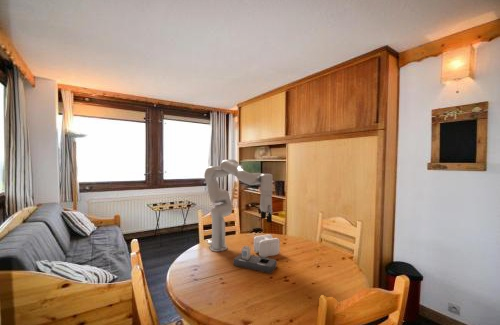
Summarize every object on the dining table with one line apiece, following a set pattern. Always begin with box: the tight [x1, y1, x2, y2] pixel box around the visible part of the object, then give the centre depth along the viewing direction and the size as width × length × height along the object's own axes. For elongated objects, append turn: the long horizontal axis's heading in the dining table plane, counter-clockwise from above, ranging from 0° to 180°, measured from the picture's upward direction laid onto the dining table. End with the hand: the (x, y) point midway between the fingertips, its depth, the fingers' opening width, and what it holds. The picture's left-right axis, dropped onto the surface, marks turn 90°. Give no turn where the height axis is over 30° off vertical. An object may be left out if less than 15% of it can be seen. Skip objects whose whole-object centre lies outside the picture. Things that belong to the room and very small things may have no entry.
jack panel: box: [233, 252, 277, 274], centre depth 140 cm, size 24×10×4 cm, turn 65°
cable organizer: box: [253, 233, 281, 258], centre depth 159 cm, size 15×11×12 cm
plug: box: [241, 245, 252, 260], centre depth 143 cm, size 4×5×11 cm
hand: (266, 220), depth 146 cm, fingers open, 9 cm apart
